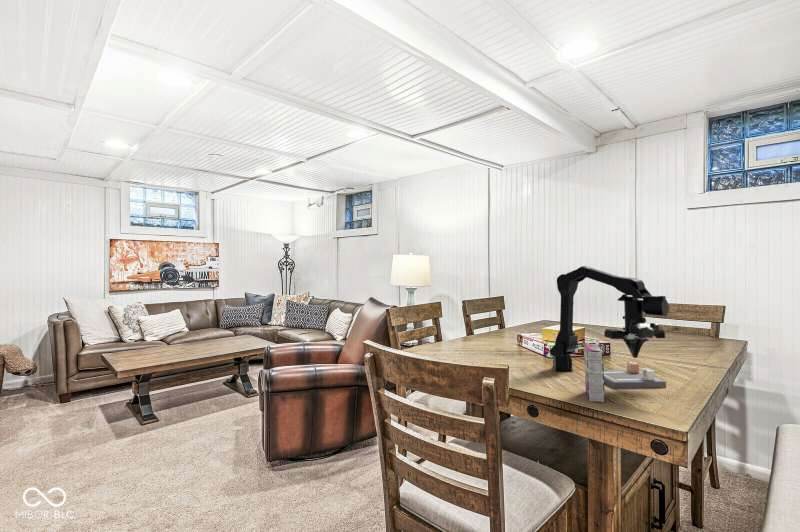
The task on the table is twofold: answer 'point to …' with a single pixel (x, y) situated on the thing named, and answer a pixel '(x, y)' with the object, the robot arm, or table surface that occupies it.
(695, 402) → the table surface
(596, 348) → the candy bar box
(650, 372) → the fader
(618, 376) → the console
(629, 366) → the block
